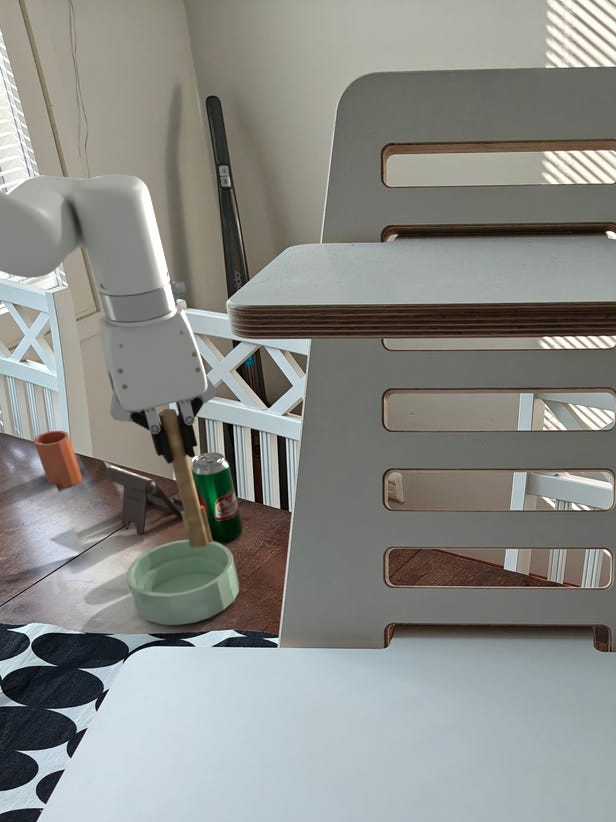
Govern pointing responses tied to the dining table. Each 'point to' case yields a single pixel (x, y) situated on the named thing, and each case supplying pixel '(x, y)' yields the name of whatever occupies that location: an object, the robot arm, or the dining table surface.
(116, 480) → the tablet stand
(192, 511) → the wooden dowel rod
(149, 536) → the dining table surface
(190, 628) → the dining table surface
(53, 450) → the crock
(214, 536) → the soda can
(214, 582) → the bowl
